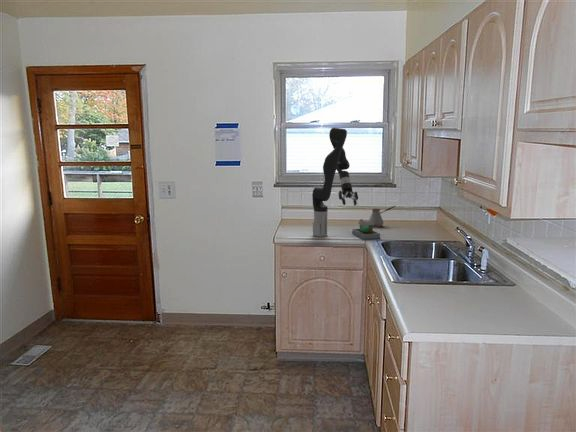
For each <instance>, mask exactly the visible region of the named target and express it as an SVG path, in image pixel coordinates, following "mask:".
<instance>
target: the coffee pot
mask: <svg viewBox="0 0 576 432" xmlns="http://www.w3.org/2000/svg"><path fill="white" fill-rule="evenodd" d="M394 208H397V207H396V205H393V206H391V207H388V208H386V209H385V210H383V211H381V208H372V209H371V211H372V213H371V215H370V217H369V219H368V222H373V223H374V225H373V228H381V226H383V224H384V220H383V218H382V214H383V213H384V212H385V213H386V212H387V211H390V210H392V209H394Z"/></svg>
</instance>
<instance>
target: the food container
mask: <svg viewBox="0 0 576 432" xmlns="http://www.w3.org/2000/svg"><path fill="white" fill-rule="evenodd" d="M368 221H369V220H368ZM368 221H367V220H363V218H361V219H359V220H358V225H359V229H360V232H361V233H363V234H372V231H373V229H374V227H373V225H374V223H373V222H368Z"/></svg>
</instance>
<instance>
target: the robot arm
mask: <svg viewBox="0 0 576 432" xmlns="http://www.w3.org/2000/svg"><path fill="white" fill-rule="evenodd" d="M347 136H348V130H347V129H346V128H340V127H331V129H330V130H329V135H328V137H329V141H330V144H331V145H332V147H333V150H332V151H330V152H329V154H327V155H326V157H325V159H324V162H323V165H322V171H323V175H324V181H323V182H324V183H323V186H315V187H314V188H313V190H312V207H313V222H312V236H313V237H317V238H323V237H327V236H328V205H326V204H325V203H324V202H328V200H329V199H330V198H331V195H332V189H333V183H334V180H335V175H336V171H337V174H338V175H339V176H338V177H339V181H340V187H341V189H340V190H339V191H338V193H337V194H338V199H339V200H341V201H342V204H343V206H345V205H346V204H347V203H346V199H351V200H352V201H353V206H355V207H356V206H357V203H358V202H357V201H358V199H359V196H358V192H357V191H353V185H352V182H351V177H350V173H349V172H348V171H347V170H349V169H350V162H349V160H348V159H347V156H346V155H347V154H346V150H345V149H344V144H345V142H346V141H347Z"/></svg>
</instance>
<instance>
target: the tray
mask: <svg viewBox="0 0 576 432" xmlns="http://www.w3.org/2000/svg"><path fill="white" fill-rule="evenodd" d="M351 234H352V235H353V236H355V237H357V238H359V239H360V240H363V241H366V240H368V241H369V240H379V239H381V232H378V231H376V230H373V231H372V234H363V233H361V232H360V228H352V229H351Z"/></svg>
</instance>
